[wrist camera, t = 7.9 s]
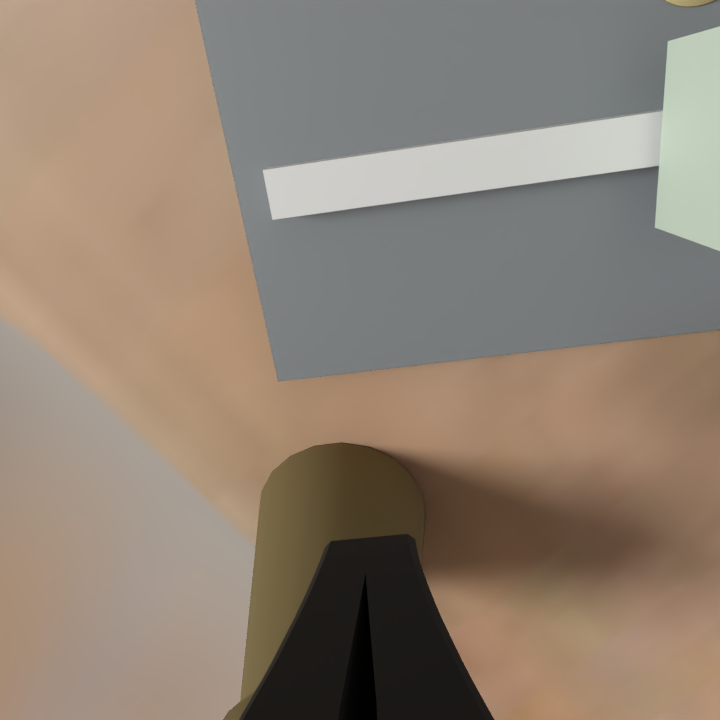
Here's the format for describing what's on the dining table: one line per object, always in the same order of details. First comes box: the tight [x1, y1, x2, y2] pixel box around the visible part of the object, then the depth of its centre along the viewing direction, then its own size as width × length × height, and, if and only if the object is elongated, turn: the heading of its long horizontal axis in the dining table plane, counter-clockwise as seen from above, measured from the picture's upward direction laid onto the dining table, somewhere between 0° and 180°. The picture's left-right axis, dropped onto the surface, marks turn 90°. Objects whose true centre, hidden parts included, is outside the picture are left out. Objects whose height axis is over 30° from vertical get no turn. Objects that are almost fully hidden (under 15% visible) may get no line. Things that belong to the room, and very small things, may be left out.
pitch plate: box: [195, 0, 720, 381], centre depth 12 cm, size 12×22×6 cm, turn 98°
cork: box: [223, 443, 425, 720], centre depth 15 cm, size 6×6×11 cm
